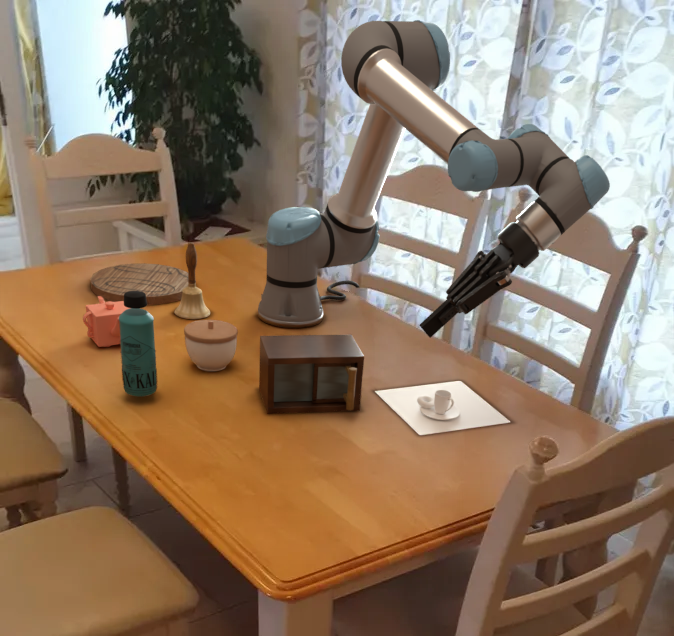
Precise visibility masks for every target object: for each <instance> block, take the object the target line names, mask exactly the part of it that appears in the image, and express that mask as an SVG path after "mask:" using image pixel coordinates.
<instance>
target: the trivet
mask: <svg viewBox="0 0 674 636" xmlns="http://www.w3.org/2000/svg"><path fill="white" fill-rule="evenodd" d="M89 280H90V289H91V291H92V292H93V294H94V295H96V296H97V297H98V296H101V297H103V299H104V300H107V301H111V302H118V301H124V293H126V292H128V291H141V292H144V293H145V294H146V300H147V306H153V305H156V306H157V305H162V304H170V303H174V302H178V301H181V298H182V290H183V289H184V288H186V287H188V271H186V270H183V269H181V268H178V267H175V266H171V265H167V264H159V263H145V262H144V263H124V264H116V265H112V266H108V267H104V268H102V269H98V270H97V271H95V272H94V273H93V274H92V275H91V277H90V278H89Z"/></svg>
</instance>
